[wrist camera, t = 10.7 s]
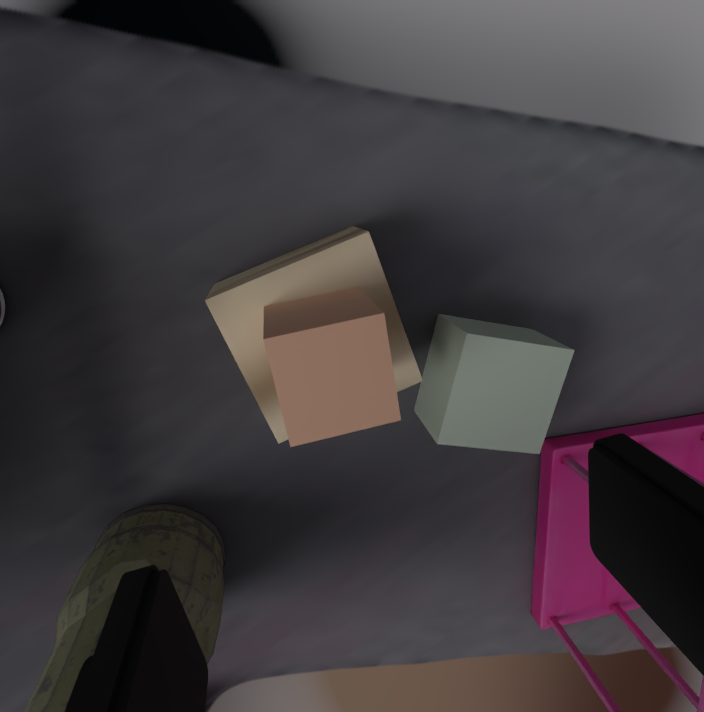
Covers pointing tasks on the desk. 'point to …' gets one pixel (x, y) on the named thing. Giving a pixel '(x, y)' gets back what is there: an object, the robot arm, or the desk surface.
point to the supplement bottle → (2, 307)
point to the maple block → (296, 281)
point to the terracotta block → (330, 365)
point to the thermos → (101, 579)
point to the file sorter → (572, 539)
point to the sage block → (490, 385)
